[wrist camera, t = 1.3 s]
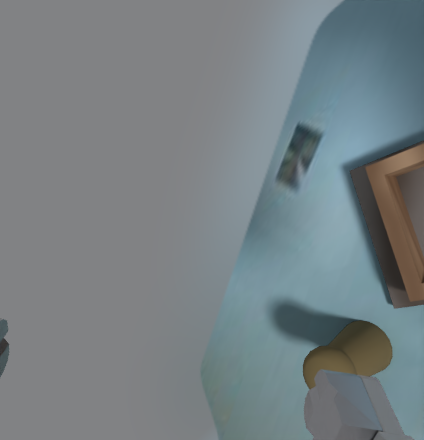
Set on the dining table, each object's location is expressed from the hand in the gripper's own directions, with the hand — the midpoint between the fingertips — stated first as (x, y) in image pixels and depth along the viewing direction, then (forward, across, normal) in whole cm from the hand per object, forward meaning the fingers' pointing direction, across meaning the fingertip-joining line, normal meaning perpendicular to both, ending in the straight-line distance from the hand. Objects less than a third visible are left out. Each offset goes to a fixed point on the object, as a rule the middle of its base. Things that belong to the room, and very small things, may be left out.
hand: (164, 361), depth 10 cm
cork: (+26, -24, +21) cm, 41 cm away
